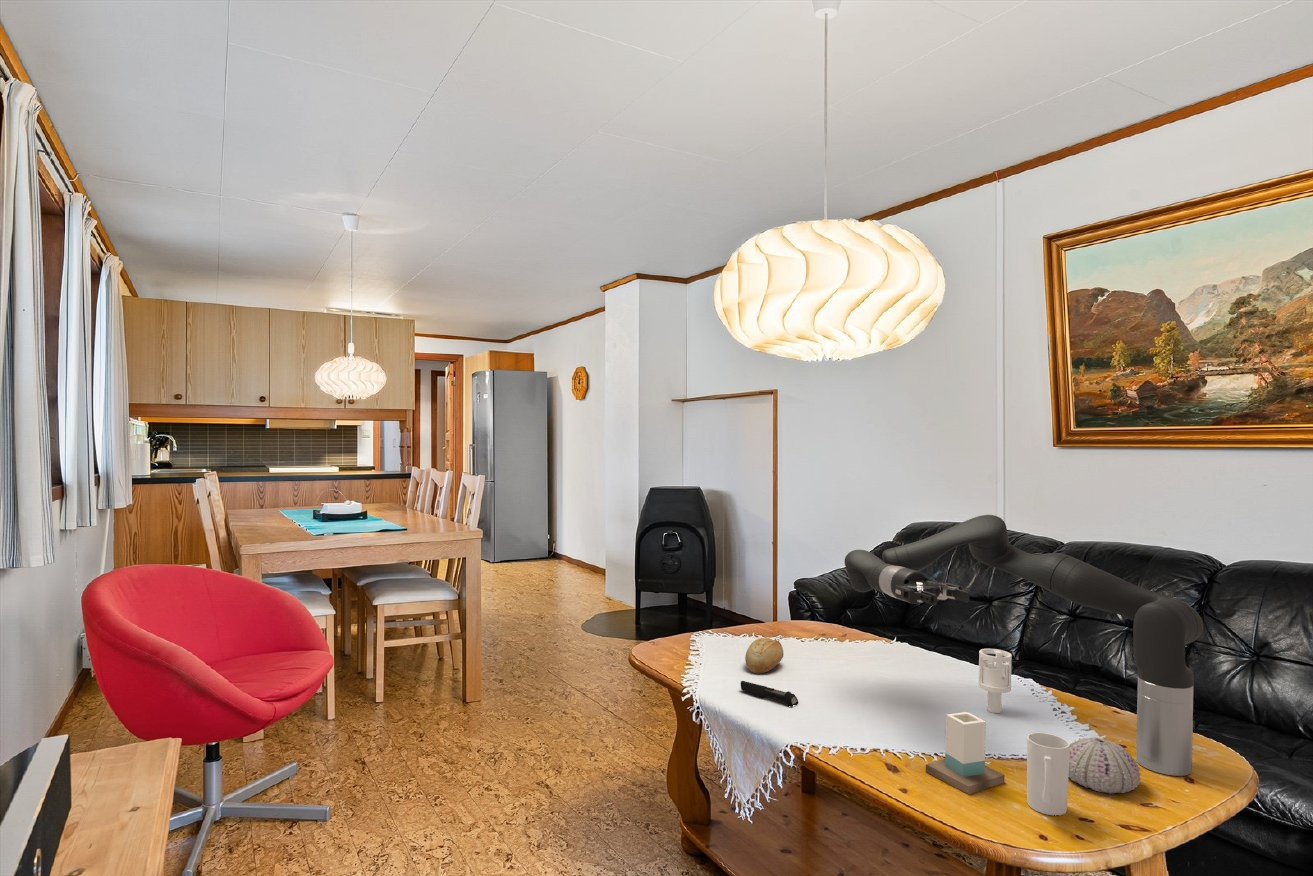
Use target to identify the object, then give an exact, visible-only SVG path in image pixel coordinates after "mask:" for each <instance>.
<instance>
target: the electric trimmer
mask: <svg viewBox="0 0 1313 876" xmlns="http://www.w3.org/2000/svg"><path fill="white" fill-rule="evenodd" d="M740 689H741V691H743V692H745V693H747V694H749V695H753V696H755V697H757V698H760V699H768V700H772V701H775V702H778V703H780V704H781V703H782V704H784V705H787V707H788V706H793V705H796V706H798V705H799V699H798V697H797V696H796V694H795V693H792V692H791V691H789V690H788V691H783V690H779V689H775V688H772V687H768V686H765V685H761V684H757V683H753V682H749V681H746V680H741V681H740ZM797 704H798V705H797Z"/></svg>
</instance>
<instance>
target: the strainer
mask: <svg viewBox="0 0 1313 876" xmlns="http://www.w3.org/2000/svg"><path fill="white" fill-rule="evenodd" d="M978 654H979V657H978V658H979V659H978V687H979V689H982V690H984V691H987V695H986V696H987V698H986V699H987V701H986V704H987V705H986V710H987V711H988V712H990V713H992V714H1001V713H1002V697H1003V696H1002V694H1006V693H1007V694H1008V693H1010V692H1011V691H1012V657H1013V655H1012V653H1011V652H1008V651H1005V650H1003V649H997V648H982V649H980V650H979V652H978ZM994 655H995V656H994Z"/></svg>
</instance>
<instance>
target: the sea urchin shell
mask: <svg viewBox="0 0 1313 876" xmlns="http://www.w3.org/2000/svg"><path fill="white" fill-rule="evenodd" d="M1138 766H1139V764H1138V762H1137V761H1136V759H1135V758H1134V757H1133V756H1132V755H1131V754H1130V753H1129V752H1128V750H1126V749H1125V748H1124V747H1122V746H1121V745H1120V744H1118V743H1116V742H1113V741H1110V740H1107V739H1105V738H1101V737H1098V736H1092V737H1091V736H1090V737H1086V738H1085V737H1082V738H1078V739H1077V740H1074V741H1073V742H1071V743H1070V757H1069V777H1068V778H1070V779H1071V781H1073V782H1074V783H1077V784H1078V785H1080V786H1083V787H1085V788H1090V789H1091V790H1093V791H1096V792H1098V793H1106V794H1109V795H1110V794H1112V795H1113V794H1116V793H1118V794H1126V793H1129V792H1132V791H1134V790H1135V789H1136V788H1138V785H1140V781H1141V776H1142V774H1141V772H1140V768H1139V767H1138Z"/></svg>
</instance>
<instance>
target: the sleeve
mask: <svg viewBox="0 0 1313 876" xmlns="http://www.w3.org/2000/svg"><path fill="white" fill-rule="evenodd" d="M986 725H987V723H986V721H985V720H983V719H982V718H980V717H979V716H978V717H977V716H975V715H974V714H972V713H971V712H968V711H962V712H955V713H950V714H949V713H947V714H945V758H944V759H945V766H947V767H948V768H950V769H951V770H953V771H954V772H956V773H958V774H959V775H961V776H962V777H967V776H973V775H979V774H985V766H986V733H987V731H986V729H987V728H986Z"/></svg>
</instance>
